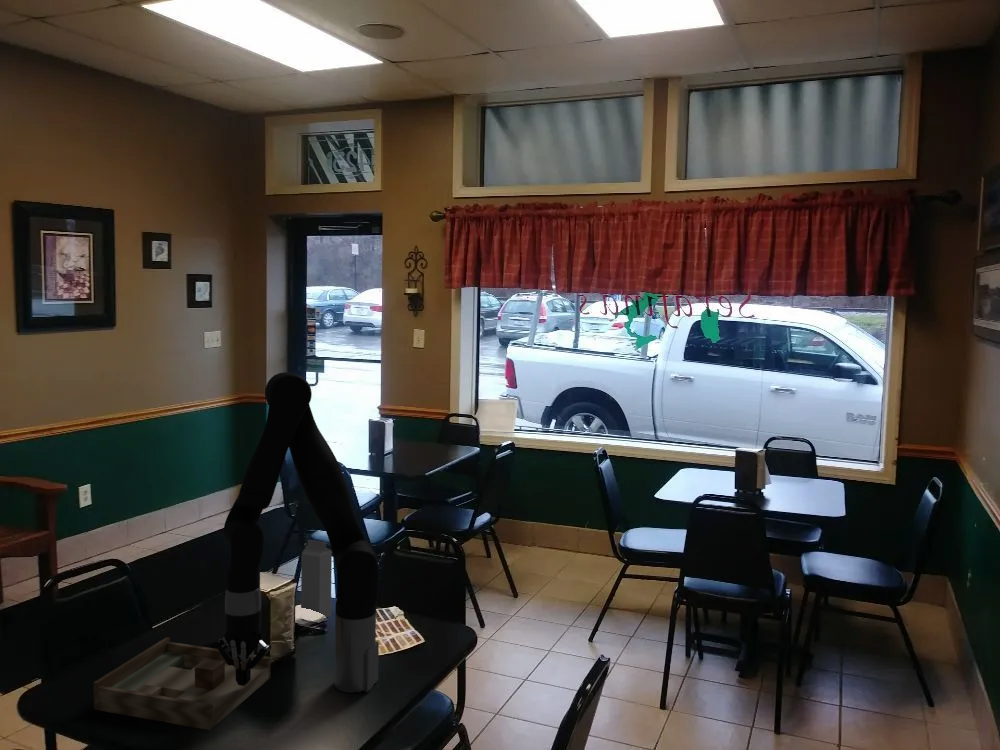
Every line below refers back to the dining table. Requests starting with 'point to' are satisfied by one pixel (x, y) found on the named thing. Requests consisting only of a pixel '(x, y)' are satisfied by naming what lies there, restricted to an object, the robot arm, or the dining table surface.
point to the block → (209, 674)
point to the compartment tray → (174, 686)
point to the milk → (316, 577)
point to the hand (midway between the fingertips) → (243, 683)
